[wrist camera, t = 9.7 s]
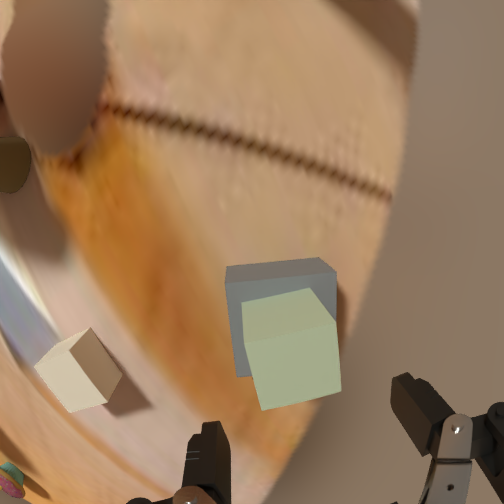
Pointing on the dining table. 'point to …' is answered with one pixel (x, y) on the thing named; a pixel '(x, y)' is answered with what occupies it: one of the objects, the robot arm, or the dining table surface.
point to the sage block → (291, 348)
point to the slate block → (274, 292)
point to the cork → (13, 163)
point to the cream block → (79, 372)
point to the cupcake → (11, 480)
